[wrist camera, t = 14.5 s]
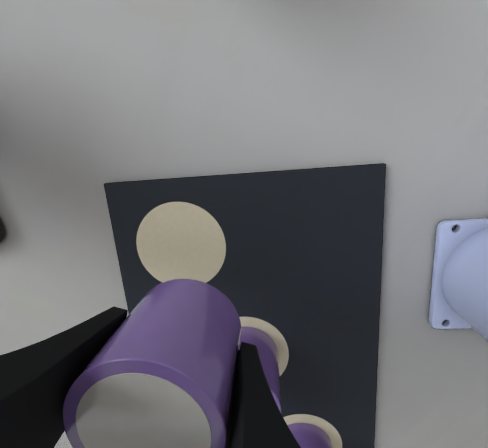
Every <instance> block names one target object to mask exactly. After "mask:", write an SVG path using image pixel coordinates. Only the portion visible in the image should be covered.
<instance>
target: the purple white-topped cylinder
mask: <svg viewBox="0 0 488 448" xmlns="http://www.w3.org/2000/svg"><path fill="white" fill-rule="evenodd" d="M241 329H242V334H241V341H240V345H241V342H245V343H249V344H253V345H256V347H257V349H258V354H259V358H260V361H261V364H262V368H263V371H264V374H265V376H266V379H267V382H268V384H269V387H270V390H271V392H272V395H273V397H274V399H275V401H276V404H277V406H278V408H279V410H280V412H281V395H280V375H279V355H278V349H277V346H276V344H275V342H274V341H273V339H272V338H271V337H270V336H269V335H268V334H266V333H265V332H263V331H262V330H260V329H257V328H254V327H247V326H243V327H241Z"/></svg>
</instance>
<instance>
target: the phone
mask: <svg viewBox="0 0 488 448" xmlns="http://www.w3.org/2000/svg"><path fill="white" fill-rule="evenodd" d="M2 238H3V232H2V229H1V226H0V242H1V241H2Z"/></svg>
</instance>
